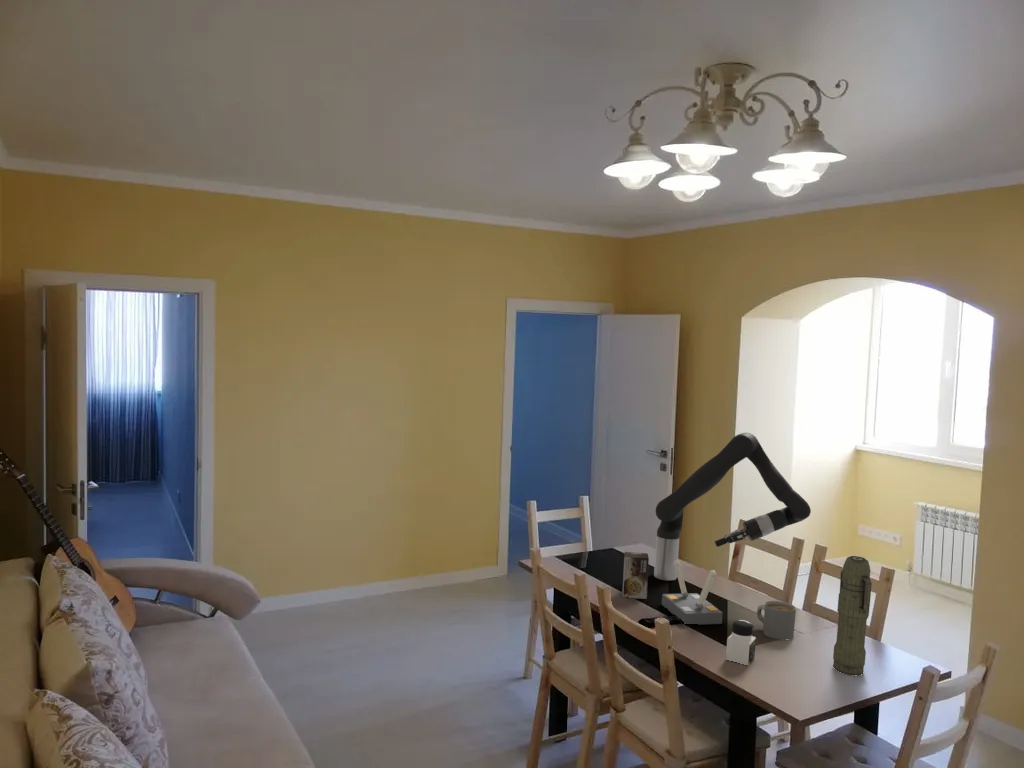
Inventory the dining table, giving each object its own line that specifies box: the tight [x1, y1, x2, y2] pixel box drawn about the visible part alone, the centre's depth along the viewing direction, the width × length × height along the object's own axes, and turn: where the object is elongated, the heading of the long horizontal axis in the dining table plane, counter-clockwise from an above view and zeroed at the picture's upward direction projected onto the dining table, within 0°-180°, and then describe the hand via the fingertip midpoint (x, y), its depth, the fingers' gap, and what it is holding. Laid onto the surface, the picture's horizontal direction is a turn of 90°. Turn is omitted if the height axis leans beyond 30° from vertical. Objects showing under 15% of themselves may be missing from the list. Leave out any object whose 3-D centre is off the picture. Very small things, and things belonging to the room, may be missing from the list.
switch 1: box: [674, 559, 688, 598], centre depth 284 cm, size 2×2×14 cm
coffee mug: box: [756, 600, 797, 641], centre depth 266 cm, size 13×10×10 cm
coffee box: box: [621, 551, 650, 600], centre depth 296 cm, size 9×6×16 cm
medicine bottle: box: [725, 619, 757, 667], centre depth 241 cm, size 7×7×12 cm
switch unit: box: [661, 592, 724, 625], centre depth 280 cm, size 20×14×4 cm
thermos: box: [832, 555, 873, 677], centre depth 237 cm, size 9×12×35 cm
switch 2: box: [696, 569, 717, 609], centre depth 274 cm, size 2×2×14 cm
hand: (715, 544), depth 291 cm, fingers closed
